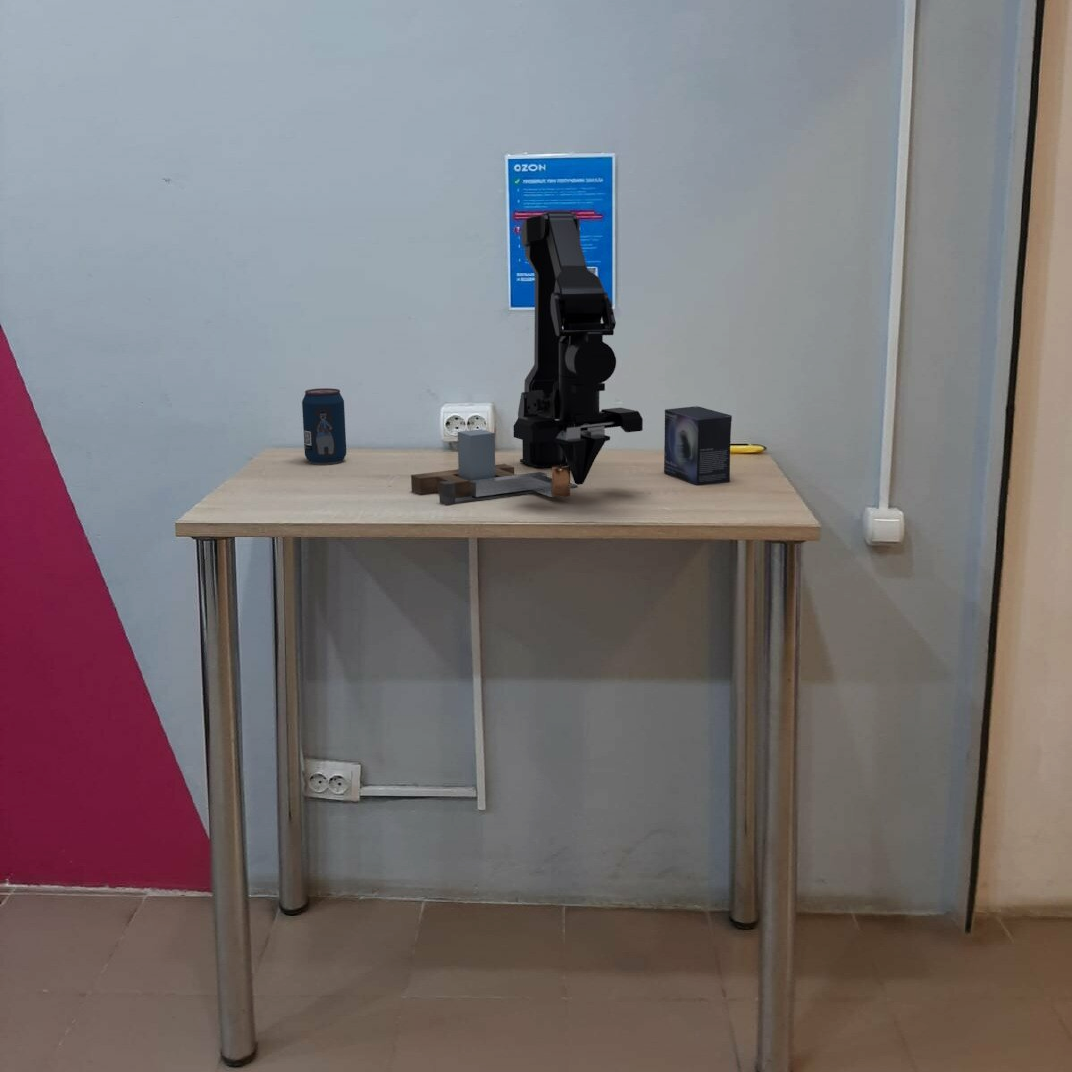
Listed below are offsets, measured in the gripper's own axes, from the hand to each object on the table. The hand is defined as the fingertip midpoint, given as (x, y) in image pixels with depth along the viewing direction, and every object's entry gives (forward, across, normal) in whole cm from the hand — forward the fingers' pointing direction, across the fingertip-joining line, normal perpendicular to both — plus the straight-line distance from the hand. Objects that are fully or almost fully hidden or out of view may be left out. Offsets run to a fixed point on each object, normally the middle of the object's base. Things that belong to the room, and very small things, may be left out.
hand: (578, 484), depth 168 cm
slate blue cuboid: (+2, +10, -12) cm, 16 cm away
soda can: (+2, +20, -47) cm, 51 cm away
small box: (+3, -24, -3) cm, 24 cm away
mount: (+2, +7, -13) cm, 14 cm away
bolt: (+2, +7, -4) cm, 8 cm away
